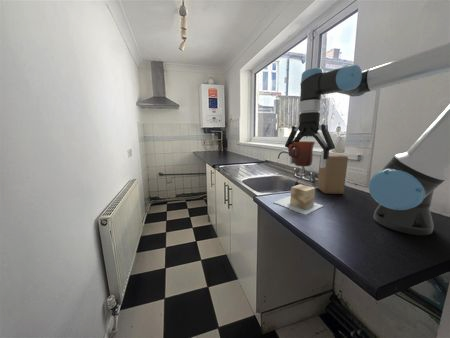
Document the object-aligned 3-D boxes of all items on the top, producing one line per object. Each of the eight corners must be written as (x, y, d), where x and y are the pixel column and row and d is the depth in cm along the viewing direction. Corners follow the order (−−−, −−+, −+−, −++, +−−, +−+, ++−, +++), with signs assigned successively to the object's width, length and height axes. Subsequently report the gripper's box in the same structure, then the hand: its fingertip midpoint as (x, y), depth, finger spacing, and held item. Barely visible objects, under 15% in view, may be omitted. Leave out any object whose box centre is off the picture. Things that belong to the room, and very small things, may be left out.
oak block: (313, 205, 81) (315, 187, 79) (304, 209, 77) (306, 191, 75) (299, 200, 86) (300, 184, 85) (290, 204, 82) (291, 187, 81)
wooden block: (334, 188, 105) (339, 153, 101) (344, 194, 95) (349, 156, 91) (316, 188, 106) (319, 153, 102) (323, 194, 96) (327, 156, 92)
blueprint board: (323, 206, 81) (323, 205, 81) (305, 215, 73) (305, 214, 73) (291, 196, 93) (291, 195, 93) (273, 202, 85) (273, 201, 85)
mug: (302, 163, 86) (303, 141, 84) (318, 166, 78) (320, 141, 76) (281, 165, 82) (282, 142, 80) (295, 168, 74) (297, 142, 72)
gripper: (348, 109, 66) (343, 168, 70) (288, 115, 85) (286, 161, 89) (339, 108, 61) (333, 170, 65) (277, 115, 81) (276, 163, 85)
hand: (306, 165), depth 77 cm, fingers open, 13 cm apart
